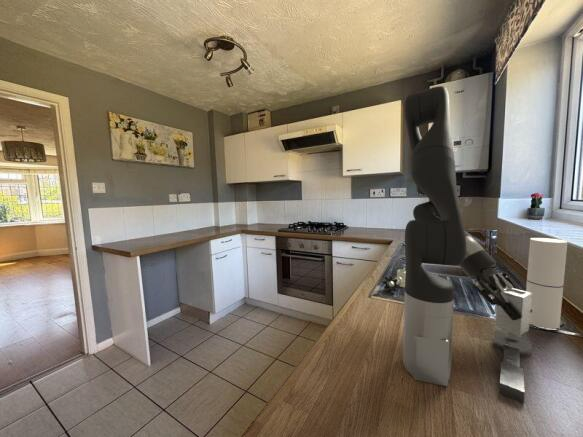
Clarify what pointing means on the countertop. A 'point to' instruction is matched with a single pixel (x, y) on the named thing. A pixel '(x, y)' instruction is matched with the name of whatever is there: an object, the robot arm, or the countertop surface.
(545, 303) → the cylindrical container
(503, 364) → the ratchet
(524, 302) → the socket
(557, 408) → the countertop surface
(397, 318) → the countertop surface
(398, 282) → the valve
